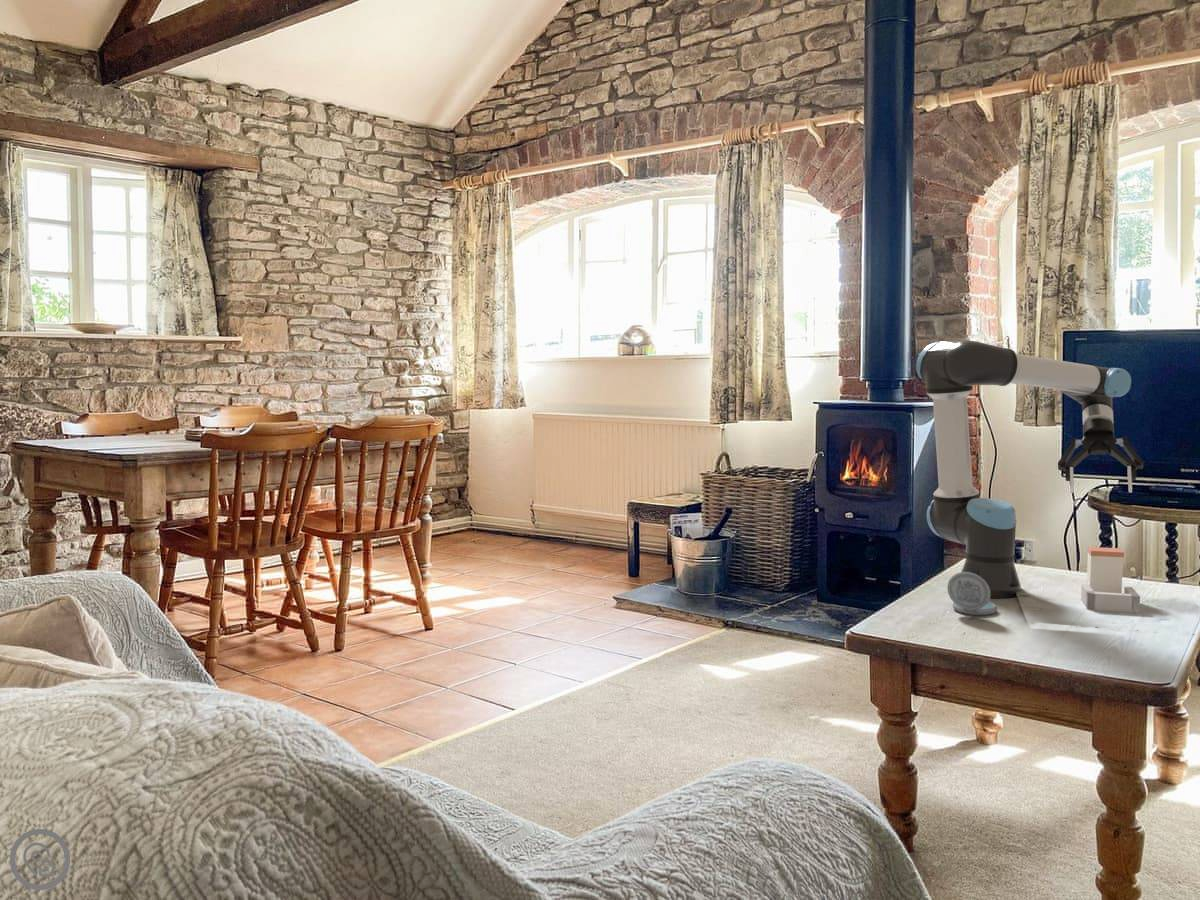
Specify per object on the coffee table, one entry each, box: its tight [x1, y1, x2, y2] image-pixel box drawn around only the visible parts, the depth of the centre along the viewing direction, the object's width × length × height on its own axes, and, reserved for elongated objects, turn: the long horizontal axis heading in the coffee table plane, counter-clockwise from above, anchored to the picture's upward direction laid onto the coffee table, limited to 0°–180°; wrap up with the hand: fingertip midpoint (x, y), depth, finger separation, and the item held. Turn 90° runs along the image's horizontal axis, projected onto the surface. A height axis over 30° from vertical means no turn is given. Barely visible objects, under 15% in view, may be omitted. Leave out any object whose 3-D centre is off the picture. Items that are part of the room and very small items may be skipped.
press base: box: [1080, 583, 1141, 613], centre depth 239 cm, size 20×14×5 cm
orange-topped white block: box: [1086, 546, 1125, 593], centre depth 243 cm, size 5×7×12 cm
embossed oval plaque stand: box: [947, 572, 998, 616], centre depth 236 cm, size 10×11×15 cm
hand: (1100, 490), depth 259 cm, fingers open, 13 cm apart
